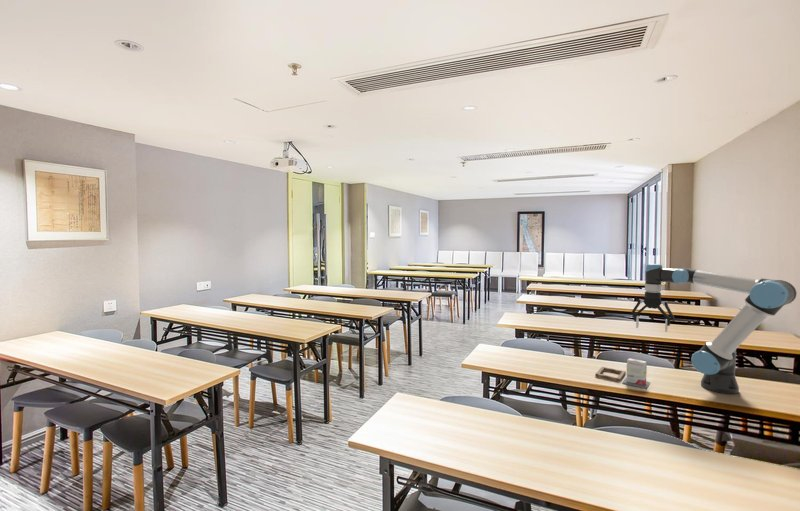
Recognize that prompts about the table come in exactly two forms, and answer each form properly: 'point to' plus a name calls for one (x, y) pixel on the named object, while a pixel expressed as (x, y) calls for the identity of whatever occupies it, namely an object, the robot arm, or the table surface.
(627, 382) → the pad
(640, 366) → the ink box
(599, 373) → the frame
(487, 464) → the table surface
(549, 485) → the table surface
